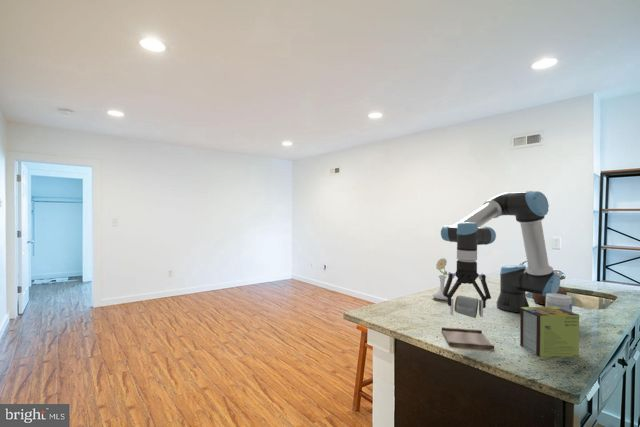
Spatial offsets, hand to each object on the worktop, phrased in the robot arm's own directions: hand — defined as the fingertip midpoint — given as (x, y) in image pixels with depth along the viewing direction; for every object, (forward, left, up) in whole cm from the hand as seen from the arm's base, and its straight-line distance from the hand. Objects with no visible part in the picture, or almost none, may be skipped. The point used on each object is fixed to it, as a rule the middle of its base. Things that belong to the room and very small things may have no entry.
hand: (466, 314), depth 128 cm
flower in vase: (-2, -62, -11) cm, 63 cm away
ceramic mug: (+3, 0, 0) cm, 4 cm away
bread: (-66, -76, -11) cm, 101 cm away
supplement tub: (-45, -24, -11) cm, 52 cm away
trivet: (0, 0, -11) cm, 11 cm away
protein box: (-28, +4, -11) cm, 30 cm away
